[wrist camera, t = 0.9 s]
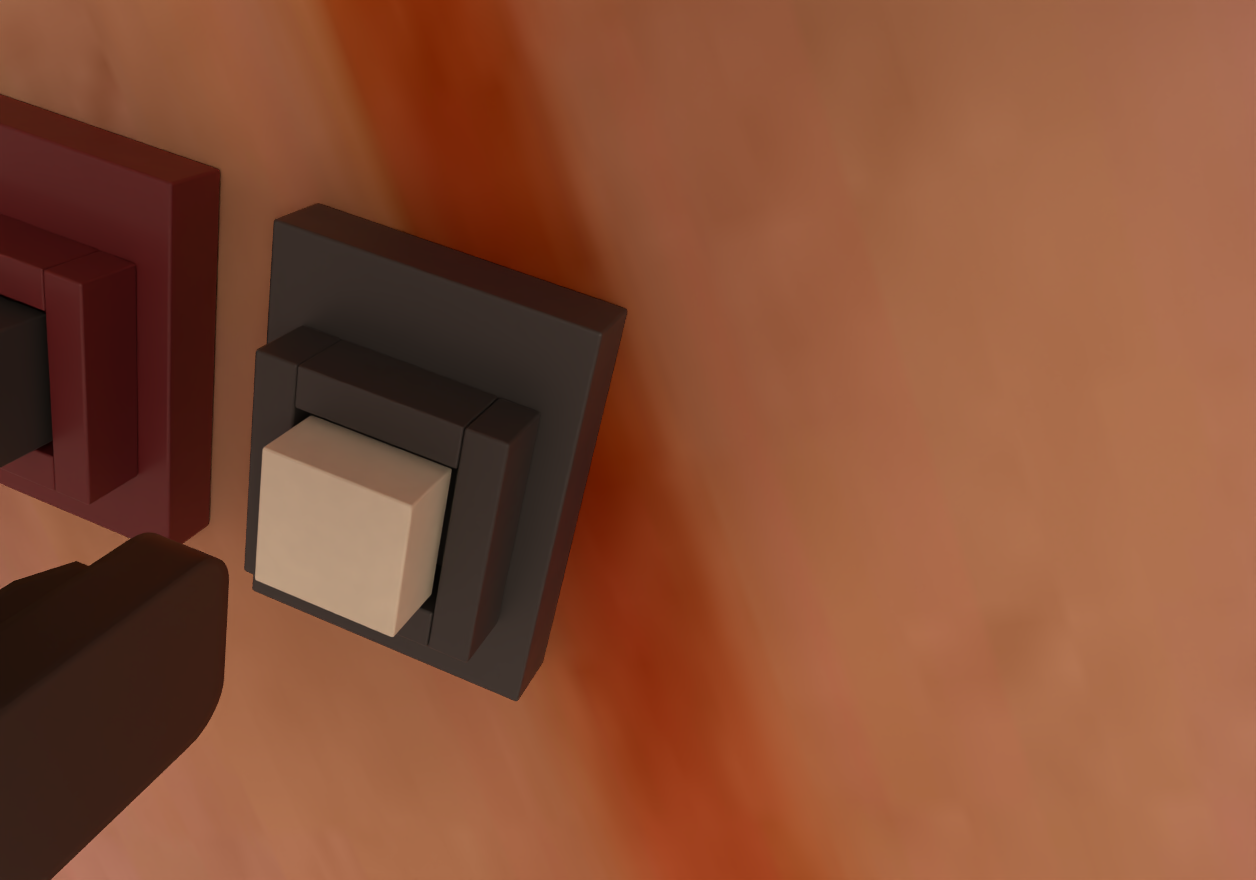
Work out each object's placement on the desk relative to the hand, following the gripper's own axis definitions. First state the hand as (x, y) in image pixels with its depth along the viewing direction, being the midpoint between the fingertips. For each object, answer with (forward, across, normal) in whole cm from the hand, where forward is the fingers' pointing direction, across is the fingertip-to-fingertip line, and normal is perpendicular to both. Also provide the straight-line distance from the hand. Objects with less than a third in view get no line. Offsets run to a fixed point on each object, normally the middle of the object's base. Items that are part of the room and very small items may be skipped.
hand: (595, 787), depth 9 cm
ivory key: (+14, +9, +8) cm, 19 cm away
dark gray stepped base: (+18, +9, +8) cm, 21 cm away
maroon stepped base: (+18, +21, +8) cm, 29 cm away
